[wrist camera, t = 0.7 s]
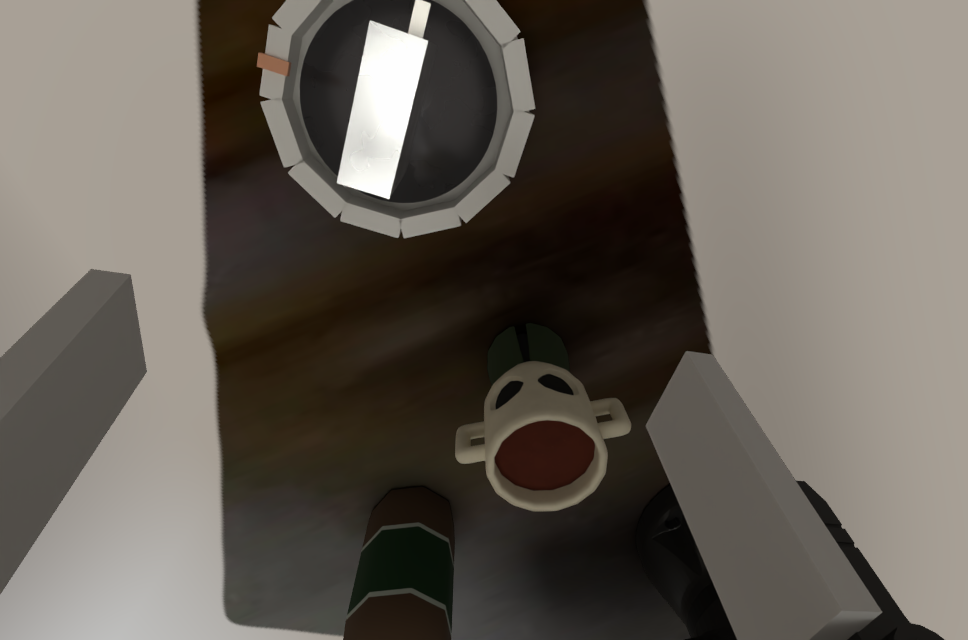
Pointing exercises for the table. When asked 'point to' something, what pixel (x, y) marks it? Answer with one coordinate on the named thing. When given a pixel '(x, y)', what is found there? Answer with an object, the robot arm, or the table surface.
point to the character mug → (540, 425)
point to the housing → (281, 83)
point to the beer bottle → (405, 570)
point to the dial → (398, 98)
